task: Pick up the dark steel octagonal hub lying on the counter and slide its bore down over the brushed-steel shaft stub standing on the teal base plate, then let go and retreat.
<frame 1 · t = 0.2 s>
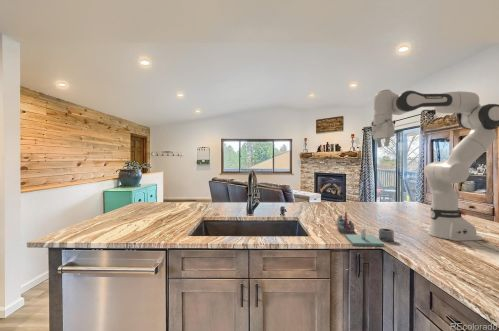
hand: (382, 146, 138), 47 cm above the worktop, fingers open, 8 cm apart
hub: (386, 239, 130), on the worktop
brake caliper: (344, 231, 148), on the worktop
shaft block: (363, 241, 128), on the worktop
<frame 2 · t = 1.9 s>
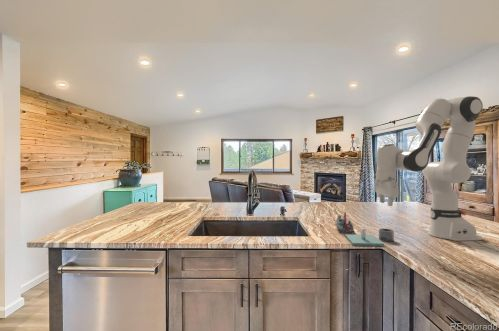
hand: (385, 204, 129), 18 cm above the worktop, fingers open, 8 cm apart
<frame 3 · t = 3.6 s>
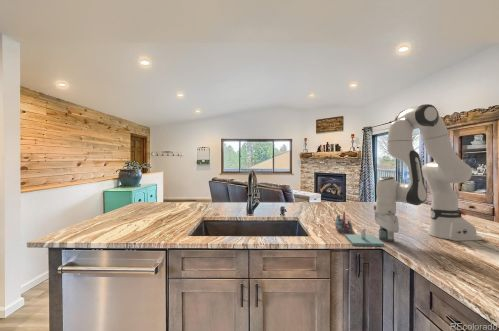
hand: (386, 236, 130), 2 cm above the worktop, fingers closed on hub, 6 cm apart
hub: (386, 239, 130), on the worktop, touching gripper
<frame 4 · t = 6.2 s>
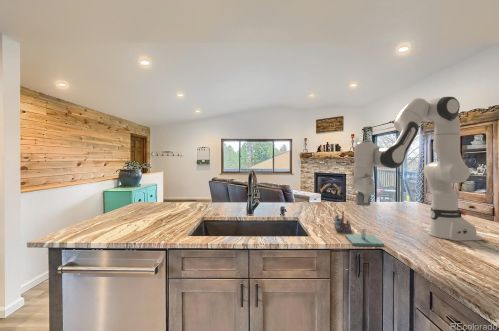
hand: (363, 201, 128), 20 cm above the worktop, fingers closed on hub, 6 cm apart
hub: (362, 204, 128), point 18 cm above the worktop, touching gripper
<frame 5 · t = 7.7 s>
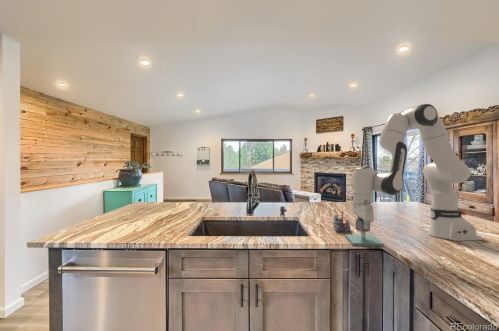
hand: (362, 226, 128), 7 cm above the worktop, fingers closed on hub, 6 cm apart
hub: (362, 229, 128), point 6 cm above the worktop, touching gripper
when the fingers open (4 cm above the worktop, at t = 8.8 s): hub drops 1 cm, resting on shaft block.
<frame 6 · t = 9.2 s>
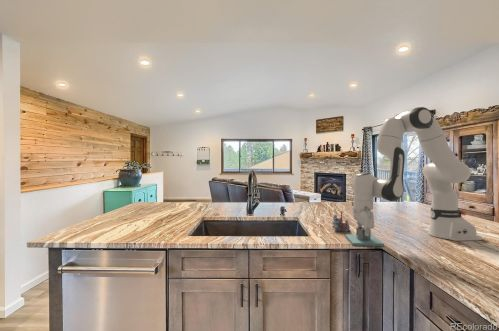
hand: (363, 233, 128), 4 cm above the worktop, fingers open, 8 cm apart
hub: (363, 238, 128), point 1 cm above the worktop, touching shaft block
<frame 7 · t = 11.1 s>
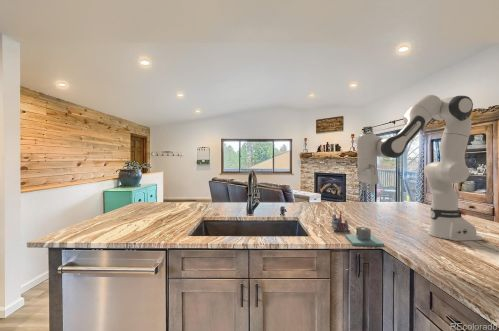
hand: (368, 191, 133), 24 cm above the worktop, fingers open, 8 cm apart
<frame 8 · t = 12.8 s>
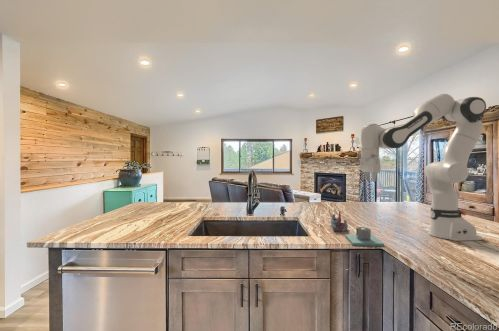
hand: (370, 180, 138), 29 cm above the worktop, fingers open, 8 cm apart
at the end: hub 0.1 cm off-centre on the shaft block, point 1.2 cm above the shaft block's base; the gripper is holding nothing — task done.
